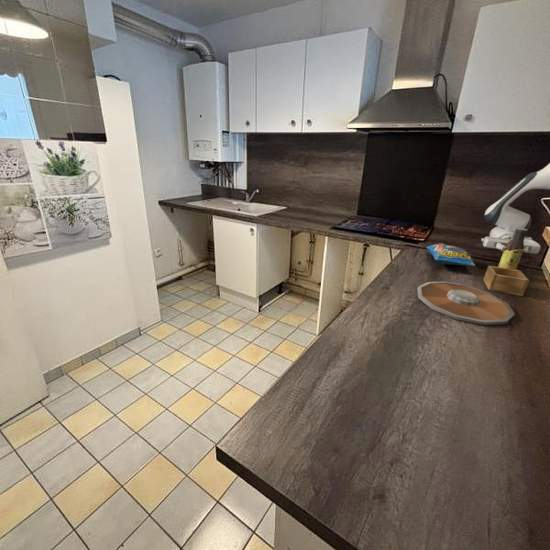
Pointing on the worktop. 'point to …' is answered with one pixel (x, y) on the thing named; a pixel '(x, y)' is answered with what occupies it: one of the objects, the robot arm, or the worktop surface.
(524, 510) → the worktop surface
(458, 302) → the shield
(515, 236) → the sauce bottle
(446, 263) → the packet
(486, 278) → the open wooden box
